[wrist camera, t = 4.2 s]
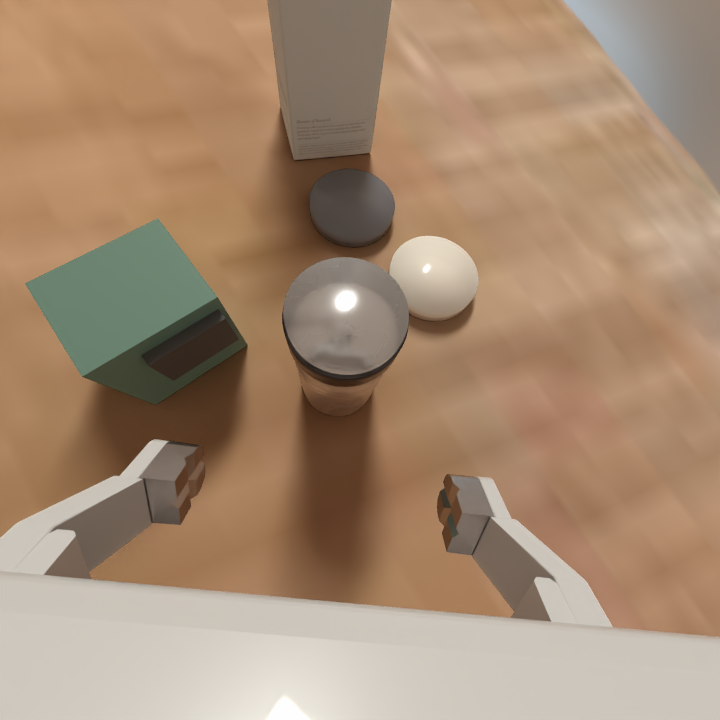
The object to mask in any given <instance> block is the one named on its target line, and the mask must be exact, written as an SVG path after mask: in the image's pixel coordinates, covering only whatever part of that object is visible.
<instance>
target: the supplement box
mask: <svg viewBox="0 0 720 720" xmlns="http://www.w3.org/2000/svg"><path fill="white" fill-rule="evenodd" d="M267 1H268V9H269V17H270V25H271V33H272V41H273V49H274V57H275V64H276V73H277V82H278V90H279V99H280V106H281V111H282V115H283V119H284V123H285V127H286V131H287V135H288V139H289V143H290V147H291V151H292V155H293V159H294V160H302V159H313V158H325V157H336V156H345V155H355V154H364V153H369V152H370V151H371V147H372V140H373V134H374V126H375V119H376V111H377V104H378V97H379V89H380V82H381V75H382V67H383V59H384V52H385V45H386V37H387V30H388V23H389V15H390V8H391V1H392V0H267Z"/></svg>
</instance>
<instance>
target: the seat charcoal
mask: <svg viewBox="0 0 720 720" xmlns="http://www.w3.org/2000/svg"><path fill="white" fill-rule="evenodd" d="M309 200H310V216H311V220H312V222H313V225H314V226H315V228H316V229H317V231H318V232H319V233H320V234H321V235H322V236H323V237H325V238H326V239H328V240H329V241H331V242H333V243H335V244H338V245H341V246H346V247H362V246H367V245H370V244H373V243H375V242H376V241H378V240H380V239H381V238H382V237H383V236H384V235H385V234H386V233H387V231H388V230H389V228H390V225H391V222H392V218H393V215H394V210H395V203H394V198H393V195H392V193H391V191H390V189H389V188H388V186H387V185H386V184H385V183H384V182H383V181H382V180H380V179H379V178H378V177H376V176H374V175H373V174H370V173H368V172H365V171H362V170H357V169H340V170H336V171H332V172H330V173H328V174H326V175H324V176H322V177H321V178H320V179H319V180H318V181H317V182H316V183H315V185H314V186H313V188H312V190H311V193H310V199H309Z"/></svg>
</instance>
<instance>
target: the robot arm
mask: <svg viewBox="0 0 720 720" xmlns="http://www.w3.org/2000/svg"><path fill="white" fill-rule="evenodd" d="M203 456H204V450H203V446H201V445H195V444H188V443H181V442H174V441H164V440H157V439H154V440H152V441H150V442H149V443H148V444H147V445H146V446H145V447H144V448H143V450H142V451H141V452H140V453H139V454H138V455H137V456H136V458H135V459H134V460H133V461H132V462H131V463H130V464H129V466H128V467H127V468H126V469H125V470H124V471H123V472H122V474H121V475H120V476H113V477H110V478H108V479H106V480H104V481H102V482H100V483H98V484H96V485H94V486H92V487H90V488H88V489H86V490H84V491H82V492H80V493H78V494H75V495H73V496H71V497H69V498H67V499H65V500H63V501H61V502H59V503H57V504H55V505H53V506H51V507H49V508H47V509H45V510H43V511H40V512H38V513H36V514H34V515H32V516H30V517H28V518H26V519H24V520H22V521H20V522H18V523H16V524H15V525H14V526H13V527H12V528H11V529H9V530H8V531H7V532H6V533H5V534H4V535H3V536H2V537H1V538H0V720H720V637H715V636H704V635H693V634H682V633H671V632H660V631H648V630H637V629H627V628H616V627H613V626H612V625H611V623H610V621H609V620H608V618H607V616H606V614H605V613H604V611H603V609H602V607H601V606H600V604H599V602H598V601H597V599H596V597H595V595H594V594H593V592H592V590H591V588H590V587H589V585H588V583H587V582H586V580H585V579H583V578H582V577H581V576H580V575H579V574H578V573H577V572H575V571H574V570H573V569H572V568H571V567H570V566H569V565H567V564H566V563H565V562H564V561H563V560H562V559H561V558H559V557H558V556H557V555H556V554H555V553H554V552H553V551H551V550H550V549H549V548H548V547H547V546H546V545H545V544H543V543H542V542H541V541H540V540H539V539H538V538H536V537H535V536H534V535H533V534H532V533H531V532H530V531H528V530H527V529H526V528H525V527H524V526H523V525H522V524H520V523H519V522H518V521H517V520H515V519H511V517H510V514H509V512H508V510H507V508H506V506H505V504H504V502H503V500H502V497H501V495H500V493H499V491H498V489H497V487H496V485H495V483H494V481H493V480H492V479H491V478H485V477H474V476H464V475H455V474H447V475H446V476H445V478H444V481H443V483H444V487H445V488H444V489H443V490H441V491H440V493H439V496H438V501H437V513H438V518H439V521H440V522H441V523H442V524H443V525H444V529H443V531H442V535H443V539H444V543H445V548H446V552H450V553H458V554H465V555H473V556H472V557H473V558H474V560H475V561H476V562H477V564H478V565H479V566H480V568H481V569H482V570H483V571H484V573H485V574H486V575H487V577H488V578H489V579H490V581H491V582H492V583H493V585H494V586H495V587H496V588H497V590H498V591H499V592H500V594H501V595H502V596H503V598H504V599H505V600H506V601H507V603H508V604H509V605H510V607H511V608H512V609H513V611H514V613H513V615H512V616H511V618H507V617H497V616H486V615H475V614H464V613H453V612H442V611H431V610H420V609H409V608H398V607H387V606H376V605H365V604H354V603H343V602H332V601H321V600H310V599H300V598H289V597H278V596H267V595H257V594H246V593H235V592H224V591H213V590H202V589H192V588H181V587H170V586H159V585H148V584H137V583H126V582H116V581H105V580H94V579H91V576H90V573H89V572H90V571H91V570H92V569H94V568H95V567H96V566H98V565H99V564H100V563H102V562H103V561H104V560H106V559H107V558H108V557H110V556H111V555H112V554H113V553H115V552H116V551H117V550H119V549H120V548H121V547H123V546H124V545H125V544H127V543H128V542H129V541H130V540H132V539H133V538H134V537H136V536H137V535H138V534H140V533H141V532H142V531H144V530H145V529H146V528H148V527H149V526H150V525H151V524H152V523H163V524H177V525H181V523H182V522H183V520H184V518H185V516H186V515H187V513H188V511H189V509H190V507H191V501H190V499H192V498H193V497H195V496H196V495H198V493H199V491H200V489H201V487H202V484H203V481H204V478H205V465H204V463H203V462H202V461H201V459H202V457H203Z"/></svg>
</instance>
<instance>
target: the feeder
mask: <svg viewBox="0 0 720 720" xmlns="http://www.w3.org/2000/svg"><path fill="white" fill-rule="evenodd" d="M25 284H26V286H27V288H28V289H29V291H30V293H31V294H32V296H33V298H34V299H35V301H36V302H37V304H38V306H39V307H40V309H41V311H42V312H43V314H44V316H45V317H46V319H47V320H48V322H49V324H50V325H51V327H52V329H53V330H54V332H55V333H56V335H57V337H58V338H59V340H60V342H61V343H62V345H63V347H64V348H65V350H66V351H67V353H68V355H69V356H70V358H71V360H72V361H73V363H74V365H75V366H76V368H77V369H78V371H79V373H80V374H81V376H82V377H84V378H87V379H89V380H92V381H94V382H97V383H100V384H102V385H105V386H108V387H110V388H113V389H115V390H118V391H121V392H123V393H126V394H128V395H131V396H134V397H136V398H139V399H141V400H144V401H147V402H149V403H152V404H154V405H157V404H158V403H160V402H161V401H163V400H164V399H166V398H167V397H169V396H170V395H172V394H173V393H175V392H177V391H178V390H180V389H181V388H183V387H184V386H186V385H187V384H189V383H190V382H192V381H193V380H195V379H197V378H198V377H200V376H201V375H203V374H204V373H206V372H207V371H209V370H210V369H212V368H213V367H215V366H217V365H218V364H220V363H221V362H223V361H224V360H226V359H227V358H229V357H230V356H232V355H234V354H235V353H237V352H238V351H240V350H241V349H243V348H244V347H246V346H247V343H246V342H245V340H244V339H243V337H242V335H241V334H240V332H239V331H238V329H237V328H236V326H235V324H234V323H233V321H232V320H231V318H230V316H229V315H228V313H227V312H226V310H225V308H224V307H223V305H222V304H221V302H220V300H219V299H218V297H217V296H216V295H215V293H214V292H213V291H212V289H211V288H210V287H209V285H208V284H207V283H206V281H205V280H204V279H203V277H202V276H201V275H200V273H199V272H198V271H197V269H196V268H195V267H194V265H193V264H192V263H191V262H190V260H189V259H188V258H187V256H186V255H185V254H184V252H183V251H182V250H181V248H180V247H179V246H178V244H177V243H176V242H175V240H174V239H173V238H172V236H171V235H170V234H169V232H168V231H167V230H166V228H165V227H164V226H163V225H162V223H161V222H160V221H159V219H156V220H154V221H152V222H150V223H148V224H146V225H144V226H141V227H139V228H137V229H135V230H133V231H131V232H129V233H127V234H125V235H123V236H121V237H119V238H117V239H115V240H113V241H111V242H109V243H107V244H105V245H103V246H101V247H99V248H96V249H94V250H92V251H90V252H88V253H86V254H84V255H82V256H80V257H78V258H76V259H74V260H72V261H70V262H68V263H66V264H64V265H62V266H60V267H58V268H56V269H54V270H52V271H49V272H47V273H45V274H43V275H41V276H39V277H37V278H35V279H33V280H31V281H29V282H27V283H25Z"/></svg>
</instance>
